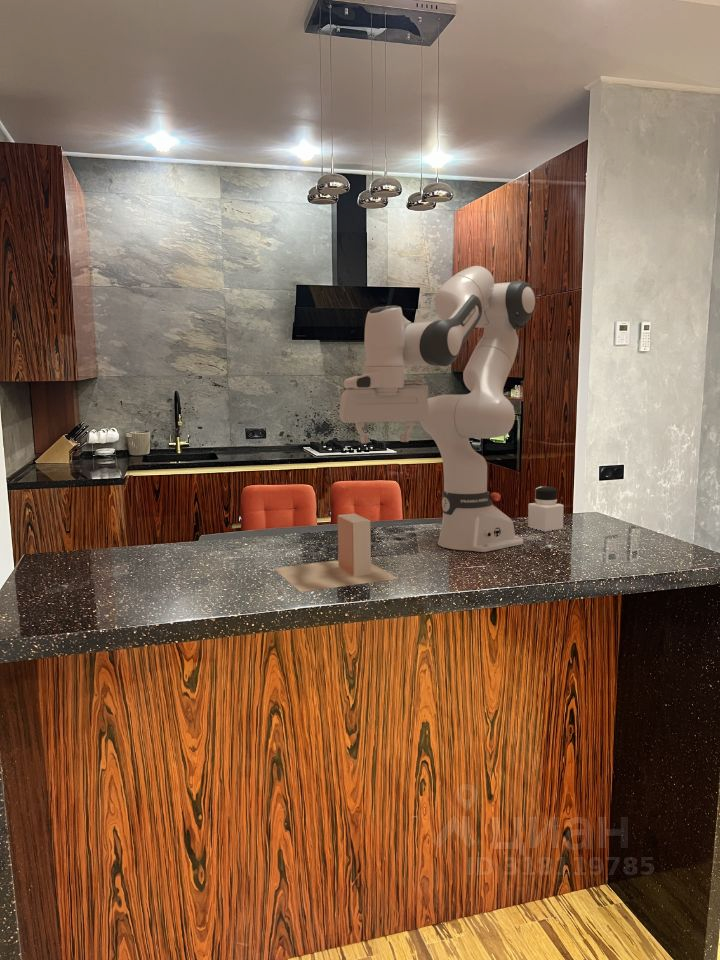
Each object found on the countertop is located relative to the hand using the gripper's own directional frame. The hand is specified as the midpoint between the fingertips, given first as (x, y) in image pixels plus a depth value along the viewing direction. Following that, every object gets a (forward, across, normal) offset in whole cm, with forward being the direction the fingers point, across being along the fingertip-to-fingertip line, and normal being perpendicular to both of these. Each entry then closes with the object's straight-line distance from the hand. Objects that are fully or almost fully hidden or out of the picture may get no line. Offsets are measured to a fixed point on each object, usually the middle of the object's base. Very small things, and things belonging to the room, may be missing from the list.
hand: (384, 442), depth 158 cm
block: (+28, +8, +2) cm, 29 cm away
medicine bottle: (+29, -58, -26) cm, 69 cm away
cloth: (+29, +13, +3) cm, 32 cm away
